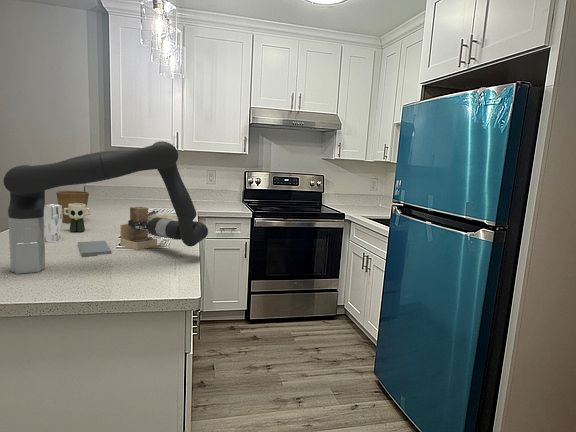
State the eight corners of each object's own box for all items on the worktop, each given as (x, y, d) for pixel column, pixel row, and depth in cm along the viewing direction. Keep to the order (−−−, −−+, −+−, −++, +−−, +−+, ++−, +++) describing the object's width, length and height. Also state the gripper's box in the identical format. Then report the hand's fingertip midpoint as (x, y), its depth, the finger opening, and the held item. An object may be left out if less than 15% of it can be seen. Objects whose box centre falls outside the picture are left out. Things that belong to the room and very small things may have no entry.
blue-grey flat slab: (111, 254, 143) (111, 250, 143) (82, 257, 137) (81, 253, 137) (104, 244, 158) (104, 240, 157) (77, 245, 152) (77, 242, 152)
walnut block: (147, 245, 159) (148, 208, 156) (137, 247, 154) (138, 208, 152) (139, 243, 161) (140, 206, 159) (129, 245, 157) (130, 207, 154)
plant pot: (90, 224, 195) (90, 193, 193) (57, 225, 187) (56, 193, 185) (88, 219, 208) (87, 190, 205) (56, 220, 200) (56, 190, 197)
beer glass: (59, 237, 162) (58, 203, 160) (66, 241, 158) (65, 206, 156) (41, 239, 157) (40, 204, 155) (47, 243, 153) (46, 207, 150)
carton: (167, 246, 161) (167, 225, 160) (136, 253, 147) (136, 230, 146) (146, 241, 167) (146, 221, 166) (114, 247, 153) (114, 225, 152)
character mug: (63, 233, 172) (62, 205, 170) (65, 230, 178) (64, 203, 176) (89, 232, 176) (89, 205, 174) (90, 229, 183) (90, 203, 181)
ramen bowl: (176, 237, 180) (176, 220, 178) (128, 234, 179) (128, 217, 178) (189, 227, 204) (189, 213, 203) (147, 224, 204) (147, 210, 203)
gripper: (177, 216, 155) (148, 211, 163) (149, 220, 143) (119, 214, 151) (176, 234, 156) (148, 228, 164) (149, 239, 144) (119, 233, 152)
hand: (134, 222), depth 157 cm, fingers closed on walnut block, 5 cm apart
